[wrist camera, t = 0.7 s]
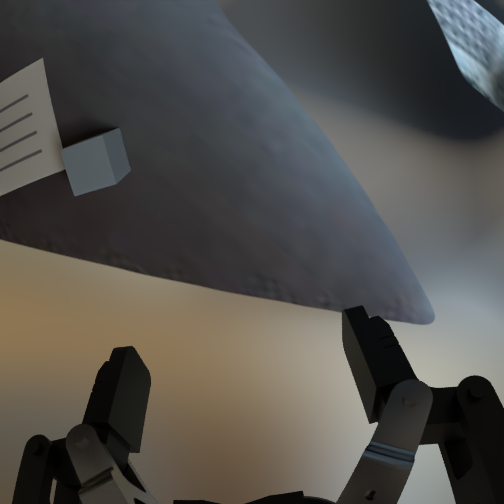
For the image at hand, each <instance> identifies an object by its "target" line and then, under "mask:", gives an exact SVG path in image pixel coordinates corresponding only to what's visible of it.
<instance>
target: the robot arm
mask: <svg viewBox="0 0 504 504" xmlns="http://www.w3.org/2000/svg"><path fill="white" fill-rule="evenodd" d="M342 340H343V347H344V351H345V354H346V357H347V360H348V363H349V365H350V368H351V371H352V374H353V377H354V380H355V382H356V385H357V388H358V391H359V394H360V397H361V400H362V403H363V406H364V409H365V412H366V415H367V418H368V421H369V424H371V423H375V422H378V426H377V428H376V430H375V433H374V435H373V437H372V439H371V441H370V443H369V445H368V446H367V447H366V449H365V451H364V453H363V454H362V456H361V458H360V460H359V462H358V464H357V466H356V468H355V470H354V472H353V474H352V476H351V477H350V479H349V481H348V483H347V485H346V487H345V488H344V490H343V492H342V494H341V495H340V497H339V499H338V501H337V502H336V503H335V502H332V501H329V500H327V499H323V498H318V497H311V496H304V494H303V491H297V492H291V493H285V494H278V495H270V496H267V497H264V498H261V499H258V500H255V501H252V502H249V503H246V504H397V502H398V500H399V498H400V495H401V493H402V491H403V489H404V486H405V484H406V482H407V479H408V477H409V475H410V472H411V470H412V467H413V464H414V460H415V459H414V457H415V454H416V451H417V449H418V446H419V445H424V444H438V445H439V448H440V451H441V454H442V458H443V461H444V464H445V467H446V470H447V474H448V477H449V480H450V484H451V487H452V491H453V494H454V498H455V502H456V504H504V408H503V406H502V404H501V402H500V400H499V398H498V396H497V394H496V392H495V390H494V388H493V386H492V385H491V383H490V382H489V381H488V380H487V379H486V378H484V377H481V376H475V375H474V376H469V377H466V378H465V379H463V380H462V381H461V382H460V384H459V385H458V387H446V388H433V387H429V386H428V385H427V384H425V383H424V382H422V381H419V379H418V378H417V377H416V375H415V374H414V372H413V369H412V367H411V365H410V363H409V361H408V360H407V358H406V356H405V354H404V352H403V350H402V348H401V346H400V345H399V342H398V340H397V339H396V337H395V336H394V333H393V331H392V329H391V327H390V325H389V324H388V323H387V322H386V321H385V320H383V319H382V318H381V317H379V316H375V317H371V318H369V317H368V315H367V313H366V311H365V309H364V307H363V306H362V305H361V306H357V307H353V308H349V309H344V310H342ZM150 387H151V377H150V373H149V370H148V369H147V367H146V366H145V364H144V363H143V361H142V359H141V358H140V356H139V354H138V353H137V351H136V350H135V348H134V347H133V346H127V347H117V348H114V349H113V351H112V353H111V356H110V359H109V361H106V362H105V363H104V364H103V365H102V367H101V368H100V370H99V371H98V373H97V376H96V379H95V384H94V386H93V389H92V392H91V395H90V398H89V401H88V405H87V408H86V411H85V415H84V418H83V422H82V424H79V425H77V426H75V427H73V428H72V429H71V430H70V432H69V433H68V434H67V437H66V438H62V439H58V440H54V441H50V440H49V439H48V438H46V437H45V436H44V435H35V436H33V437H32V438H30V439H29V440H28V442H27V443H26V446H25V449H24V453H23V456H22V460H21V464H20V468H19V472H18V477H17V481H16V487H15V491H14V496H13V501H12V504H50V492H51V486H52V481H53V479H55V480H56V481H57V485H56V490H55V497H54V502H53V504H161V503H160V502H159V501H158V500H157V499H156V498H155V497H154V496H153V495H152V494H151V493H150V491H149V489H148V488H147V487H146V485H145V484H144V482H143V481H142V479H141V477H140V476H139V474H138V473H137V471H136V470H135V468H134V466H133V465H132V463H131V462H130V460H129V459H128V456H129V453H139V452H140V446H141V439H142V433H143V426H144V420H145V414H146V409H147V403H148V397H149V392H150ZM173 504H219V503H214V502H209V501H205V500H174V501H173Z"/></svg>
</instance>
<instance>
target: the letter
mask: <svg viewBox="0 0 504 504" xmlns="http://www.w3.org/2000/svg"><path fill="white" fill-rule="evenodd" d="M62 149H63V146H62V143H61V139H60V135H59V132H58V128H57V124H56V120H55V116H54V111H53V107H52V103H51V98H50V93H49V89H48V84H47V78H46V73H45V68H44V62H43V58H42V59H40V60H38V61H36V62H34V63H32V64H31V65H29V66H27V67H25V68H24V69H22V70H20V71H19V72H17V73H15V74H14V75H12V76H11V77H9V78H7V79H6V80H4V81H3V82H1V83H0V196H1V195H3V194H6V193H8V192H10V191H12V190H15V189H17V188H19V187H22V186H24V185H26V184H29V183H31V182H34V181H36V180H38V179H41V178H43V177H46V176H49V175H51V174H54V173H56V172H59V171H62V170H64V169H65V166H64V162H63V159H62V156H61V152H60V150H62Z"/></svg>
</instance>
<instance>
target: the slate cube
mask: <svg viewBox="0 0 504 504" xmlns="http://www.w3.org/2000/svg"><path fill="white" fill-rule="evenodd" d="M60 152H61V156H62V159H63V162H64V166H65V169H66V172H67V175H68V178H69V181H70V185H71V188H72V191H73V193H74V196H78V195H81V194H84V193H87V192H91V191H94V190H97V189H101V188H104V187H108V186H111V185H115V184H117V183H118V182H119V181H120V180H121V179H122V178H123V177H124V176H126V175H127V174H128V173H129V172H130V171H131V169H130V166H129V162H128V159H127V155H126V151H125V147H124V144H123V140H122V136H121V132H120V128H117V129H114V130H111V131H108V132H105V133H102V134H99V135H96V136H93V137H90V138H88V139H85V140H82V141H80V142H77V143H75V144H73V145H71V146H69V147H66V148H64V149H62V150H60Z"/></svg>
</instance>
